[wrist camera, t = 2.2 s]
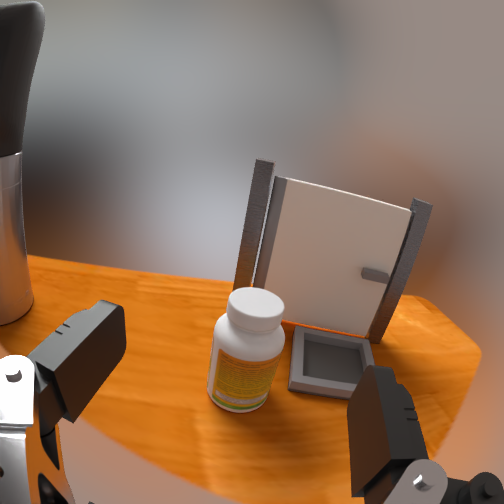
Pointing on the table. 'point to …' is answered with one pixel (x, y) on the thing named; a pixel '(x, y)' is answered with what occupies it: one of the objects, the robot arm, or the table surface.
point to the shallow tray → (327, 363)
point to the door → (328, 254)
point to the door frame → (398, 275)
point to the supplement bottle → (246, 350)
